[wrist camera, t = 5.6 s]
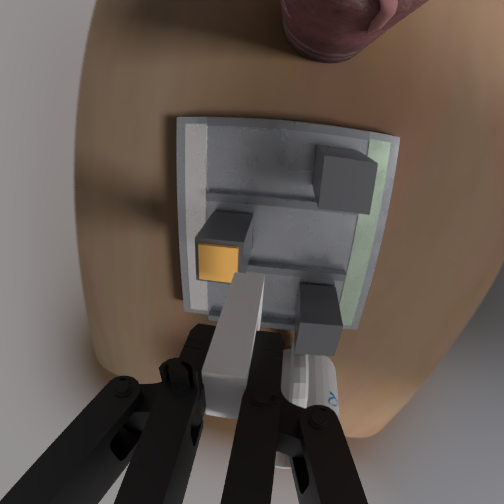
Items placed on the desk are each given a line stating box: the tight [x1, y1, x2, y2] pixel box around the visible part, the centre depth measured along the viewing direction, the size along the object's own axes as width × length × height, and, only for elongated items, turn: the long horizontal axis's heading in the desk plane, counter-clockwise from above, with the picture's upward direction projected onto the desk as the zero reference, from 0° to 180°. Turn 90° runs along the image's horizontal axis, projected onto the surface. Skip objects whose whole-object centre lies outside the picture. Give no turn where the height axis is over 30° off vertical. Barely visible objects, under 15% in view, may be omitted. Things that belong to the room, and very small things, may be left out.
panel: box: [177, 116, 400, 330], centre depth 24 cm, size 17×16×2 cm
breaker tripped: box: [195, 211, 254, 284], centre depth 21 cm, size 3×3×5 cm
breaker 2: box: [313, 145, 378, 215], centre depth 18 cm, size 3×3×5 cm
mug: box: [275, 340, 340, 469], centre depth 27 cm, size 12×9×10 cm
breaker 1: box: [294, 284, 343, 356], centre depth 23 cm, size 3×3×5 cm
